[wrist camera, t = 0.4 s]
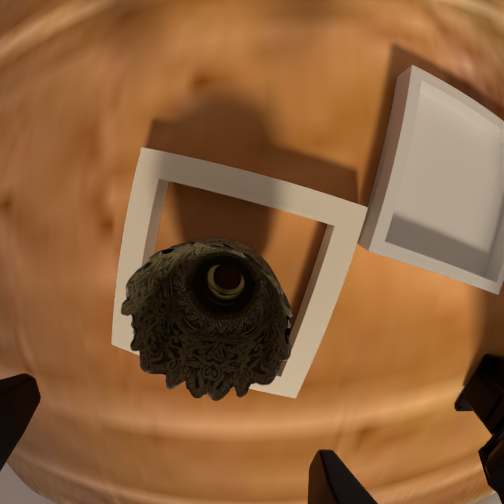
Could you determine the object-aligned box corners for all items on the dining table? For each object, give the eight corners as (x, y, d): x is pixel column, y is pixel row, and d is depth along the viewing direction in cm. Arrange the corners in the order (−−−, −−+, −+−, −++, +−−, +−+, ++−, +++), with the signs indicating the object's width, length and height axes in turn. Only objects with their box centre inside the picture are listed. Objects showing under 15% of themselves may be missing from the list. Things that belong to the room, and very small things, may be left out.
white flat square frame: (358, 205, 18) (367, 207, 16) (293, 382, 21) (295, 398, 19) (153, 150, 18) (141, 147, 16) (122, 332, 21) (111, 344, 19)
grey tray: (513, 146, 16) (532, 144, 14) (480, 284, 19) (498, 295, 16) (397, 76, 16) (412, 64, 14) (356, 242, 19) (368, 251, 16)
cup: (170, 220, 19) (109, 243, 11) (285, 219, 19) (297, 243, 11) (177, 325, 21) (135, 392, 13) (282, 329, 20) (287, 405, 12)
